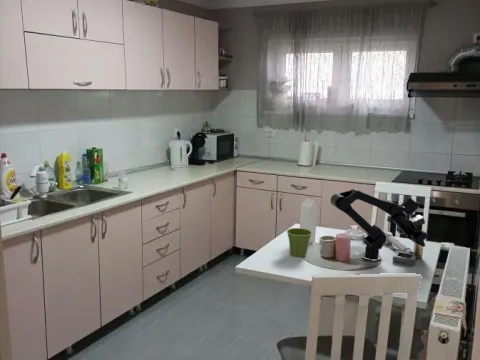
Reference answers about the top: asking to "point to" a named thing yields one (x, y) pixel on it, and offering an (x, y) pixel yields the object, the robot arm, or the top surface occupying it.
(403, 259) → the collar
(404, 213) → the robot arm
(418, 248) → the disc
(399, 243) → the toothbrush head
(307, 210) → the milk
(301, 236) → the plant pot
